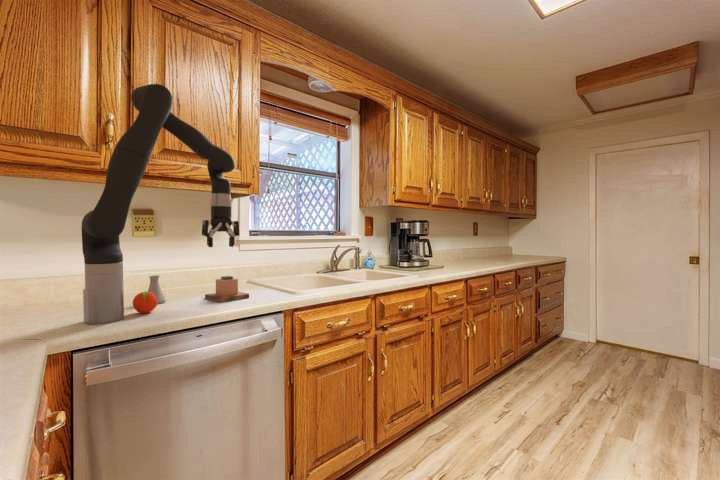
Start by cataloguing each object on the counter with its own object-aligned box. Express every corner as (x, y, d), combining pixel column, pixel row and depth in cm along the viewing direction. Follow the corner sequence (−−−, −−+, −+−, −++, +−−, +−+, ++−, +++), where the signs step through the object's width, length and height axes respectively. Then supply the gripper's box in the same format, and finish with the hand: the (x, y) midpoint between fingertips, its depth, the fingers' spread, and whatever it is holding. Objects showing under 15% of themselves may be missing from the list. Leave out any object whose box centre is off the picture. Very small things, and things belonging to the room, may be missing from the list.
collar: (223, 296, 134) (223, 280, 134) (215, 294, 138) (215, 279, 138) (237, 294, 138) (237, 279, 138) (230, 292, 142) (229, 277, 142)
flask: (138, 304, 126) (138, 277, 125) (151, 300, 133) (151, 274, 133) (158, 305, 126) (157, 277, 125) (170, 300, 133) (169, 274, 132)
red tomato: (157, 314, 112) (157, 292, 111) (131, 317, 108) (131, 294, 108) (157, 309, 119) (157, 288, 118) (133, 311, 115) (133, 290, 115)
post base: (220, 302, 130) (220, 279, 129) (205, 298, 138) (204, 276, 137) (249, 297, 139) (248, 276, 139) (233, 293, 147) (233, 273, 146)
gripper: (207, 204, 129) (207, 247, 130) (242, 206, 140) (242, 246, 141) (198, 205, 134) (198, 247, 135) (233, 207, 145) (233, 246, 146)
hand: (221, 246), depth 138 cm, fingers open, 8 cm apart
